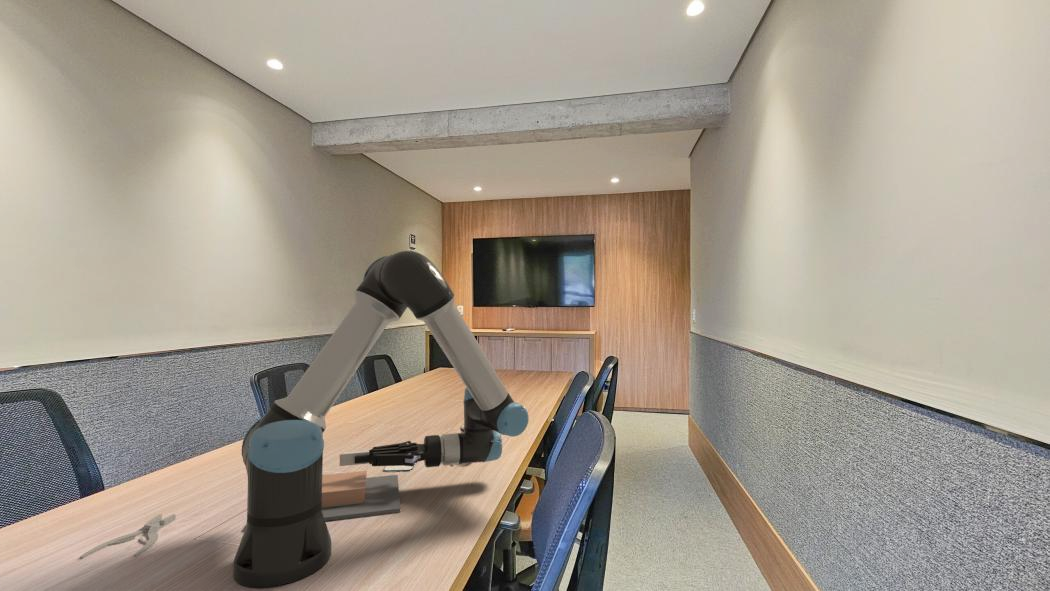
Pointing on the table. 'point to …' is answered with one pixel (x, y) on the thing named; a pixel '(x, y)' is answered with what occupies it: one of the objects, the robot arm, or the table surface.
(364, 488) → the light wooden block
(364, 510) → the rubber mat
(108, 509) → the table surface
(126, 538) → the pliers
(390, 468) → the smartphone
